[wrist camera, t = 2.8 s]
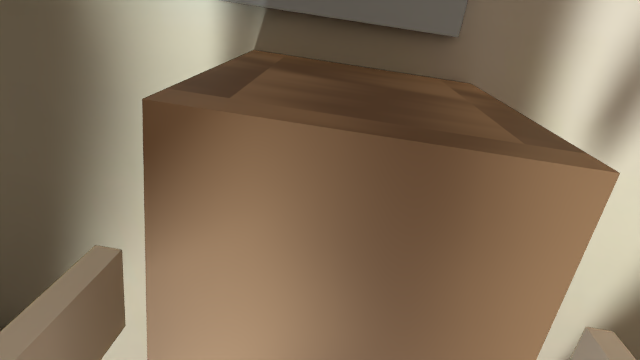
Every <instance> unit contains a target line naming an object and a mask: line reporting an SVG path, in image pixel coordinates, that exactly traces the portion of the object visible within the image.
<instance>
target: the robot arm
mask: <svg viewBox="0 0 640 360" xmlns="http://www.w3.org/2000/svg"><path fill="white" fill-rule="evenodd" d="M124 327H125V306H124V284H123V262H122V250H121V249H115V248H109V247H103V246H97V245H95V246H94V247H93V248H92V249H91V250H90V251H88V252H87V253H86V254H85V255H84V256H83V257H82V258H81V259H80V260H79V261H77V262H76V263H75V264H74V265H73V266H72V267H71V268H70V269H69V270H68V271H66V272H65V273H64V274H63V275H62V276H61V277H60V278H59V279H58V280H57V281H55V282H54V283H53V284H52V285H51V286H50V287H49V288H48V289H47V290H46V291H44V292H43V293H42V294H41V295H40V296H39V297H38V298H37V299H36V300H35V301H33V302H32V303H31V304H30V305H29V306H28V307H27V308H26V309H25V310H24V311H22V312H21V313H20V314H19V315H18V316H17V317H16V318H15V319H14V320H13V321H11V322H10V323H9V324H8V325H7V326H6V327H5V328H4V329H3V330H2V331H0V360H101V359H102V357H103V356H104V355H105V353H106V352H107V351H108V349H109V348H110V346H111V345H112V344H113V342H114V341H115V340H116V338H117V337H118V335H119V334H120V333H121V331H122V330H123V328H124ZM570 360H636V359H635V358H634V356H633V355H632V354H631V353H630V351H629V350H628V349H627V348H626V346H625V345H624V344H623V343H622V341H621V340H620V339H619V338H618V336H617V335H616V334H615V333H614V331H608V330H602V329H596V328H590V327H585V329H584V331H583V334H582V336H581V338H580V340H579V342H578V344H577V346H576V348H575V350H574V352H573V354H572V356H571V358H570Z"/></svg>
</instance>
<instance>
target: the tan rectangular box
mask: <svg viewBox="0 0 640 360" xmlns="http://www.w3.org/2000/svg"><path fill="white" fill-rule="evenodd" d="M142 108H143V159H144V210H145V261H146V312H147V360H536V359H537V357H538V354H539V352H540V350H541V348H542V345H543V343H544V341H545V339H546V337H547V334H548V332H549V330H550V328H551V325H552V323H553V321H554V319H555V317H556V314H557V312H558V310H559V308H560V305H561V303H562V301H563V299H564V297H565V294H566V292H567V290H568V288H569V285H570V283H571V281H572V279H573V277H574V274H575V272H576V270H577V268H578V265H579V263H580V261H581V259H582V257H583V254H584V252H585V250H586V248H587V245H588V243H589V241H590V239H591V237H592V234H593V232H594V230H595V228H596V225H597V223H598V221H599V219H600V217H601V214H602V212H603V210H604V208H605V205H606V203H607V201H608V199H609V197H610V194H611V192H612V190H613V188H614V185H615V183H616V181H617V179H618V177H619V174H620V173H619V172H617V171H616V170H614V169H612V168H611V167H609V166H607V165H606V164H604V163H602V162H601V161H599V160H597V159H596V158H594V157H592V156H591V155H589V154H587V153H586V152H584V151H582V150H581V149H579V148H577V147H576V146H574V145H572V144H571V143H569V142H567V141H566V140H564V139H562V138H561V137H559V136H557V135H556V134H554V133H552V132H551V131H549V130H547V129H546V128H544V127H542V126H541V125H539V124H537V123H536V122H534V121H532V120H531V119H529V118H527V117H526V116H524V115H522V114H521V113H519V112H517V111H516V110H514V109H512V108H511V107H509V106H507V105H506V104H504V103H502V102H501V101H499V100H497V99H496V98H494V97H492V96H491V95H489V94H487V93H486V92H484V91H482V90H481V89H479V88H477V87H476V86H474V85H472V84H470V83H463V82H457V81H450V80H444V79H437V78H431V77H424V76H418V75H412V74H405V73H399V72H392V71H386V70H379V69H373V68H366V67H360V66H354V65H347V64H341V63H334V62H328V61H321V60H315V59H309V58H302V57H296V56H289V55H283V54H276V53H270V52H263V51H257V50H253V51H250V52H248V53H246V54H243V55H241V56H239V57H237V58H234V59H232V60H230V61H228V62H225V63H223V64H221V65H218V66H216V67H214V68H212V69H209V70H207V71H205V72H203V73H200V74H198V75H196V76H193V77H191V78H189V79H187V80H184V81H182V82H180V83H178V84H175V85H173V86H171V87H168V88H166V89H164V90H162V91H159V92H157V93H155V94H153V95H150V96H148V97H146V98H143V99H142Z"/></svg>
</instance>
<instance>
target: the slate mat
mask: <svg viewBox="0 0 640 360" xmlns="http://www.w3.org/2000/svg"><path fill="white" fill-rule="evenodd" d="M221 1H227V2H234V3H240V4H247V5H253V6H260V7H266V8H272V9H279V10H285V11H292V12H298V13H305V14H311V15H318V16H324V17H330V18H337V19H343V20H350V21H356V22H363V23H369V24H376V25H382V26H388V27H395V28H401V29H408V30H414V31H421V32H427V33H434V34H440V35H446V36H453V37H459V33H460V29H461V25H462V21H463V17H464V13H465V10H466V6H467V2H468V0H221Z"/></svg>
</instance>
